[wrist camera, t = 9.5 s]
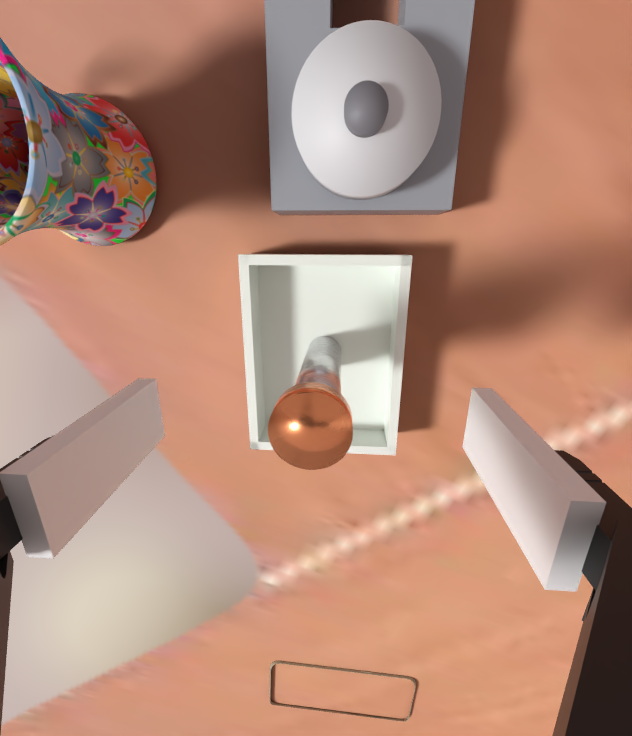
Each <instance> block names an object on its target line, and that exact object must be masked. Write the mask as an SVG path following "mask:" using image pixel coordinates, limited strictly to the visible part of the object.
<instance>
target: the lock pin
mask: <svg viewBox="0 0 632 736" xmlns="http://www.w3.org/2000/svg"><path fill="white" fill-rule="evenodd" d="M268 437H269V441H270V443H271V446H272V447H273V449H274V451H275V452H276V453H277V454H278V456H279V457H280V458H282V459H283V460H284V461H286V462H287V463H289V464H291V465H293V466H295V467H298V468H302V469H309V470H316V469H322V468H326V467H329V466H331V465H333V464H335V463H337V462H338V461H339V460H341V459H342V458H343V457H344V456H345V454H346V453H347V452H348V450H349V448H350V446H351V443H352V439H353V424H352V413H351V409H350V406H349V404H348V402H347V401H346V399H345V398H344V397H343V396H342V394H341V347H340V345H339V343H338V342H337V341H336V340H335V339H334V338H332V337H329V336H319V337H317V338H315V339H314V340H312V342H311V343H310V344H309V347H308V350H307V352H306V355H305V358H304V361H303V364H302V366H301V369H300V372H299V375H298V378H297V381H296V383H295V386H293V387H291V388H289V389H288V390H286V391H285V392H284V393H283V394H282V395H281V396H280V398H279V399H278V401H277V403H276V405H275V407H274V409H273V412H272V414H271V416H270V419H269V423H268Z"/></svg>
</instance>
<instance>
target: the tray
mask: <svg viewBox="0 0 632 736" xmlns="http://www.w3.org/2000/svg"><path fill="white" fill-rule="evenodd" d="M238 260H239V276H240V292H241V307H242V323H243V339H244V355H245V371H246V386H247V402H248V418H249V434H250V449H261V450H274V449H273V447H272V446H271V443H270V441H269V437H268V423H269V419H270V416H271V414H272V412H273V409H274V407H275V405H276V403H277V401H278V399H279V398H280V396H281V395H282V394H283V393H284V392H285V391H286V390H288V389H289V388H291V387H293V386H295V383H296V381H297V378H298V375H299V372H300V369H301V366H302V364H303V361H304V358H305V355H306V352H307V350H308V347H309V344H310V343H311V342H312V340H314V339H315V338H317V337H319V336H329V337H332V338H334V339H335V340H336V341H337V342H338V343H339V345H340V347H341V394H342V396H343V397H344V398H345V399H346V401H347V402H348V404H349V406H350V409H351V413H352V424H353V439H352V443H351V446H350V448H349V450H348V452H347V453H355V454H379V455H396V444H397V432H398V420H399V408H400V397H401V385H402V373H403V361H404V349H405V337H406V325H407V313H408V302H409V290H410V278H411V266H412V255H405V254H239V255H238Z"/></svg>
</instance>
